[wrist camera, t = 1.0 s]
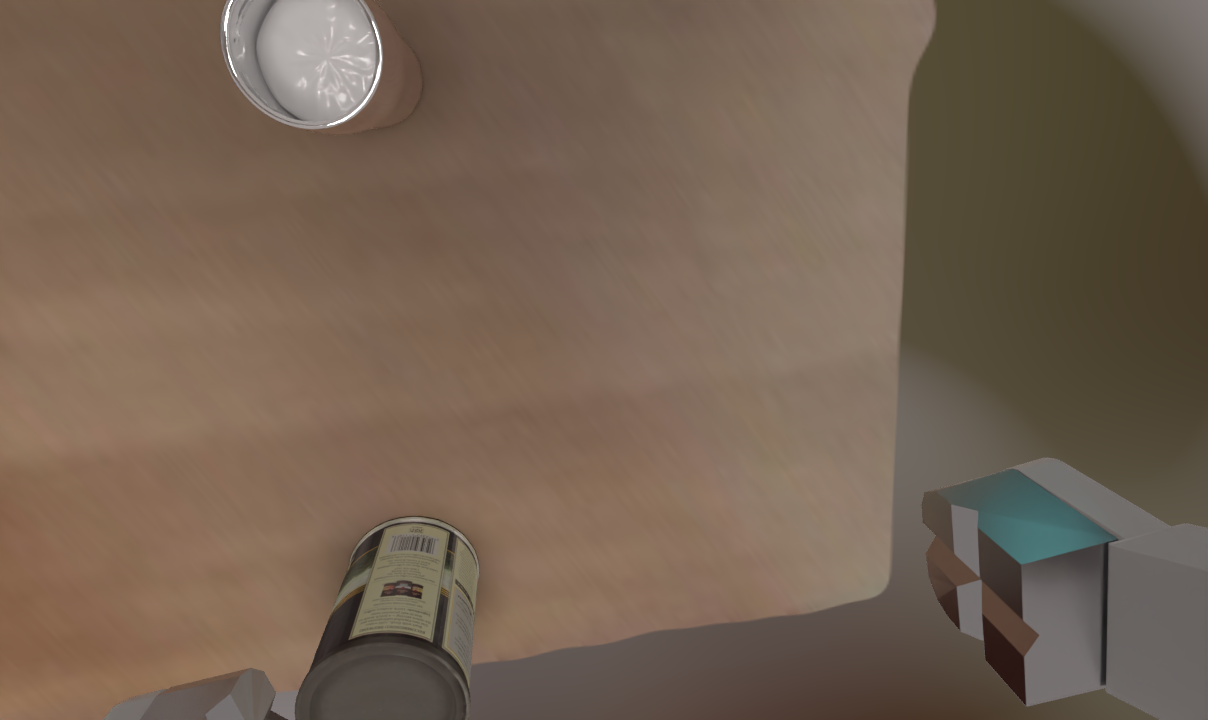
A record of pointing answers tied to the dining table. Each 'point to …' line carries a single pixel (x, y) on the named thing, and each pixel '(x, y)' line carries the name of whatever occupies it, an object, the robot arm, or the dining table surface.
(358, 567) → the coffee can
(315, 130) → the beer glass
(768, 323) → the dining table surface
